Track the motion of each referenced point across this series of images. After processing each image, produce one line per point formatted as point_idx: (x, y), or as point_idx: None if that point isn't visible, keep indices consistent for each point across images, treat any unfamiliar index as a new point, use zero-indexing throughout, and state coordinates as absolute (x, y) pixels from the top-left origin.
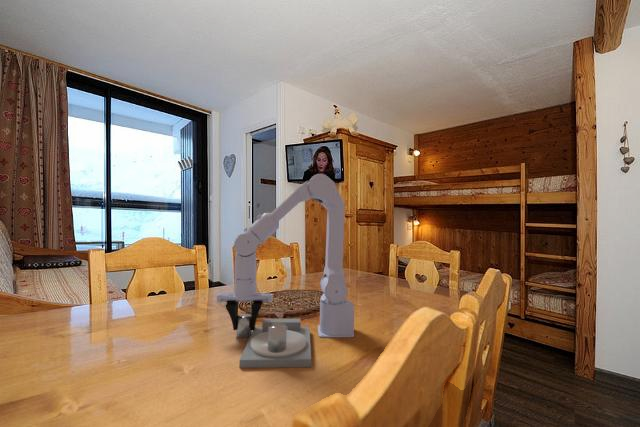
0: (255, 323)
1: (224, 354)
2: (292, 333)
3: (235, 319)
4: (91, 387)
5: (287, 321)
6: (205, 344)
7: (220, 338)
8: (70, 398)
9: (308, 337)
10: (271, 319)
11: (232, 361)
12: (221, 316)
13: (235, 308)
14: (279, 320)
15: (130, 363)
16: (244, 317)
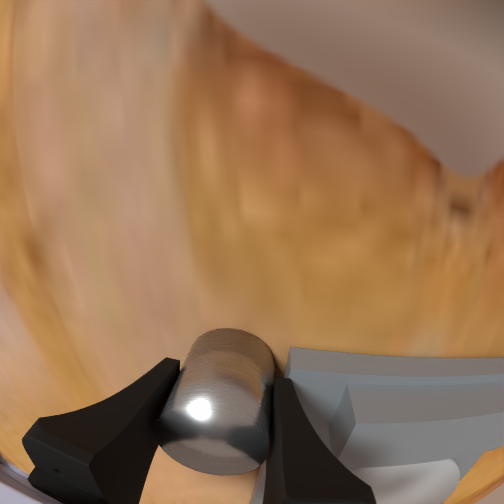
0: (295, 394)
1: (185, 471)
2: (436, 477)
3: (156, 442)
4: (23, 461)
5: (463, 448)
6: (91, 396)
7: (122, 363)
8: (25, 471)
9: (477, 457)
10: (399, 435)
11: (220, 498)
12: (64, 23)
13: (132, 501)
14: (436, 442)
15: (6, 419)
16: (213, 462)
